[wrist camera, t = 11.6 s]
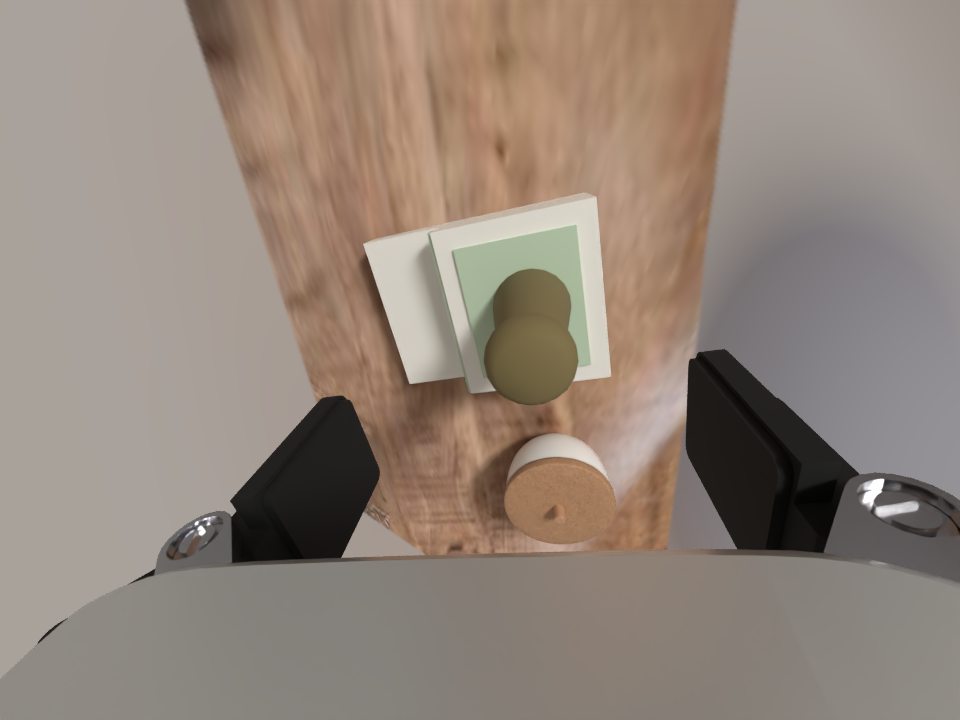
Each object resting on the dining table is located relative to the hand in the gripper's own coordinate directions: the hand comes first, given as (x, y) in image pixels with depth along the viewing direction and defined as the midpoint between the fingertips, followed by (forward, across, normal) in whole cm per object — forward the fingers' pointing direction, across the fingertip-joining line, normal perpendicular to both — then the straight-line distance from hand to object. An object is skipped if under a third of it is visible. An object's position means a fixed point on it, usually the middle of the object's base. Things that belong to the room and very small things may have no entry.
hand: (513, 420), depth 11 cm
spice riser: (+26, +4, +4) cm, 27 cm away
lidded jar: (+26, 0, +24) cm, 36 cm away
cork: (+20, 0, +4) cm, 20 cm away
